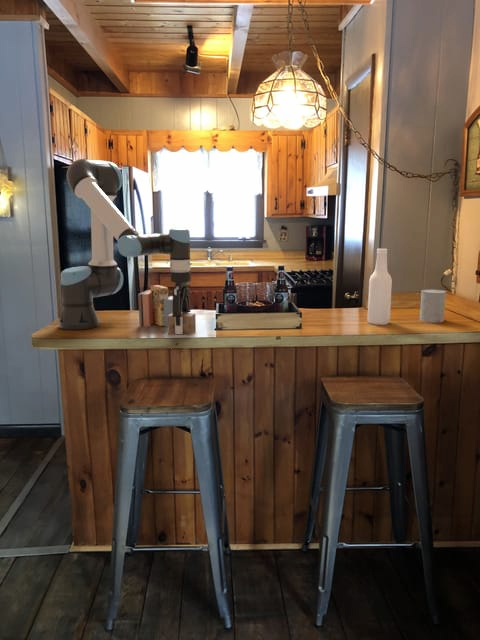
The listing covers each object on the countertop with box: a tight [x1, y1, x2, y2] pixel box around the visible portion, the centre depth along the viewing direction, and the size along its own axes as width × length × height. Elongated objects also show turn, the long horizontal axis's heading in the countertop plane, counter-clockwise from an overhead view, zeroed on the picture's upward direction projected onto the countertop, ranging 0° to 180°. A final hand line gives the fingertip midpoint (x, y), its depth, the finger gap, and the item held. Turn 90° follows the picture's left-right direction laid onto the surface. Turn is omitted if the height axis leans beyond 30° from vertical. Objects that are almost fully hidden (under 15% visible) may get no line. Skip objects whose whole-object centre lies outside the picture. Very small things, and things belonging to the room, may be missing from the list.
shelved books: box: [142, 291, 173, 328], centre depth 208 cm, size 12×9×13 cm
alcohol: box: [366, 247, 393, 326], centre depth 206 cm, size 9×9×30 cm
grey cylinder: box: [418, 288, 447, 324], centre depth 213 cm, size 10×10×12 cm
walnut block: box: [167, 312, 197, 336], centre depth 194 cm, size 9×6×7 cm, turn 79°
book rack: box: [137, 289, 190, 327], centre depth 208 cm, size 17×12×13 cm
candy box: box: [149, 284, 169, 327], centre depth 207 cm, size 9×4×15 cm, turn 33°
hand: (182, 331), depth 195 cm, fingers open, 7 cm apart
